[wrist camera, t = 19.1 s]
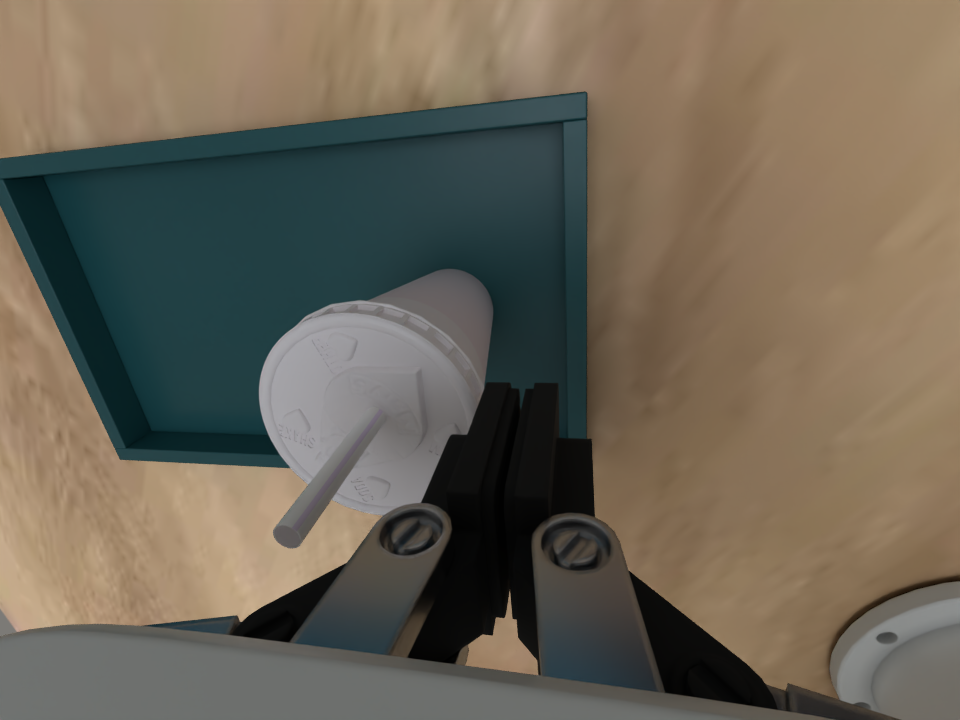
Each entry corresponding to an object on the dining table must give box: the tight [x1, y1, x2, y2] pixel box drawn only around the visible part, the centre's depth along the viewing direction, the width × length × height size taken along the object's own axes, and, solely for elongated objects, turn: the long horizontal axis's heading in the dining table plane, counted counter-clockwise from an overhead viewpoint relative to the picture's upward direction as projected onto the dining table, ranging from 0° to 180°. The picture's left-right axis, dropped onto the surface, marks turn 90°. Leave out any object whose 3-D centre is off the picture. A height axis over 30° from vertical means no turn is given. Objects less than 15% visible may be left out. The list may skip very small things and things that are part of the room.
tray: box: [0, 92, 587, 468], centre depth 22 cm, size 16×26×2 cm, turn 95°
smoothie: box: [259, 269, 493, 548], centre depth 15 cm, size 6×6×14 cm
